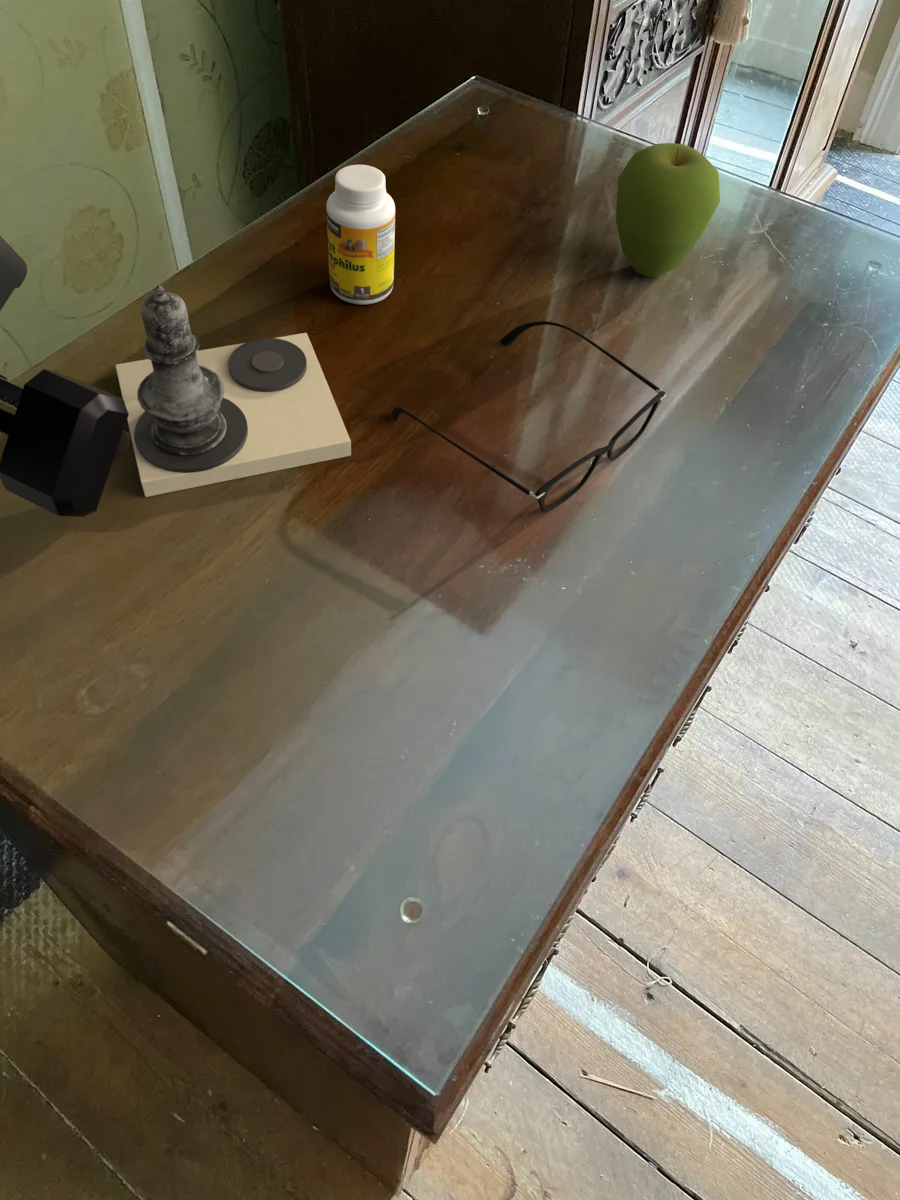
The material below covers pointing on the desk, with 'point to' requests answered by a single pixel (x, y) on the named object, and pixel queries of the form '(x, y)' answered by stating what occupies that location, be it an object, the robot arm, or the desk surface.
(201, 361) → the stove
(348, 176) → the supplement bottle
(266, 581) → the desk surface
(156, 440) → the pewter sugar caster
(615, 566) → the desk surface
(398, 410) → the eyeglasses
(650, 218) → the apple
